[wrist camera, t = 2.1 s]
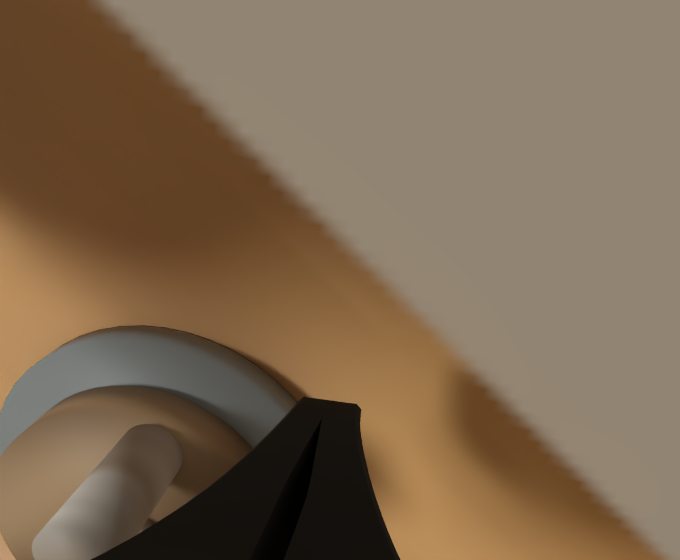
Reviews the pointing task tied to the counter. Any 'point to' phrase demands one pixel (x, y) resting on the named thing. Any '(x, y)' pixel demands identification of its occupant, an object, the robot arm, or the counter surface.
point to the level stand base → (150, 378)
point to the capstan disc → (108, 470)
